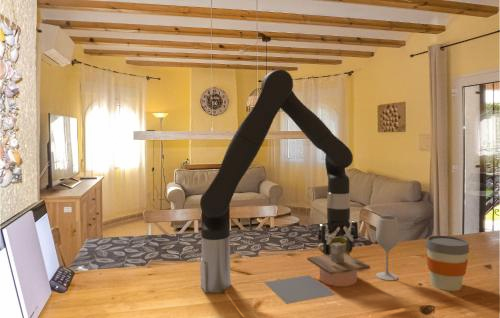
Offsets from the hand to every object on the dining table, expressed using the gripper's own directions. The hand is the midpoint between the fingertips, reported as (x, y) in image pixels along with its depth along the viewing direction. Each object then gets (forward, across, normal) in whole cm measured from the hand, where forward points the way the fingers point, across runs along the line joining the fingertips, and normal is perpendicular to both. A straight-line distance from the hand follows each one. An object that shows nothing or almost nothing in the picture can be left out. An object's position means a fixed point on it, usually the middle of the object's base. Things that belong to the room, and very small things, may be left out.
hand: (338, 253), depth 129 cm
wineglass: (+10, +18, -3) cm, 21 cm away
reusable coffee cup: (+10, +31, -16) cm, 36 cm away
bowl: (+10, 0, 0) cm, 10 cm away
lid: (+4, 0, 0) cm, 4 cm away
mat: (+10, -16, -2) cm, 19 cm away
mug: (+10, +10, +18) cm, 23 cm away
